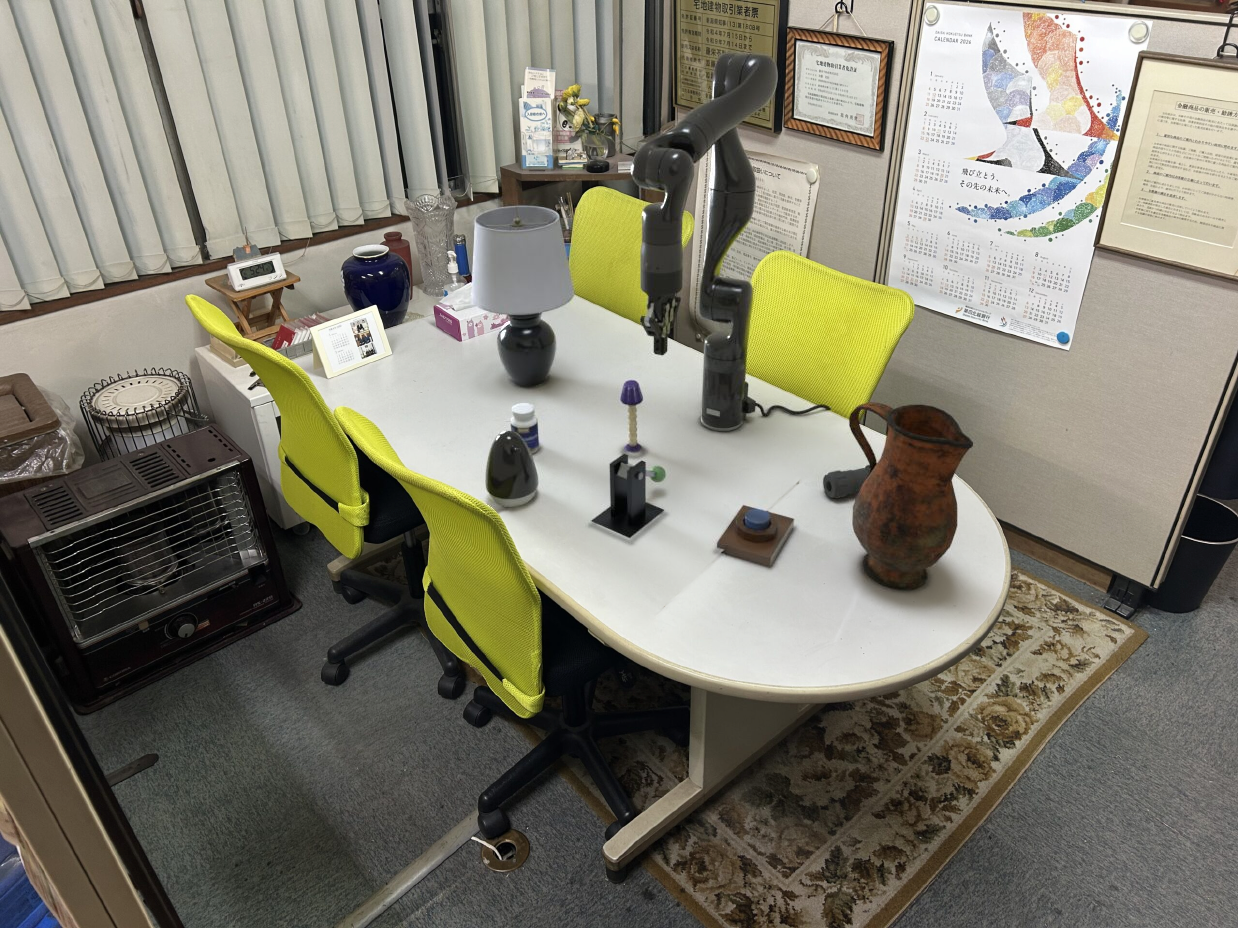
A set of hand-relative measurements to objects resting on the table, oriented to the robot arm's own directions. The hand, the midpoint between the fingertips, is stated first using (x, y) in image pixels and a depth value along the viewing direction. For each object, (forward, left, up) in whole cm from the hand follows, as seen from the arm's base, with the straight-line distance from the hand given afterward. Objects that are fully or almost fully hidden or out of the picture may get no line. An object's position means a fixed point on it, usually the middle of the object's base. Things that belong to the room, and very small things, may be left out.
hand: (660, 353), depth 167 cm
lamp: (+2, -53, -27) cm, 60 cm away
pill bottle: (+18, -24, -27) cm, 41 cm away
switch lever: (+10, +9, -20) cm, 24 cm away
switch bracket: (+14, +10, -27) cm, 32 cm away
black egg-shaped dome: (+29, -8, -27) cm, 41 cm away
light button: (-2, +28, -23) cm, 37 cm away
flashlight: (-30, +27, -27) cm, 49 cm away
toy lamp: (0, -10, -27) cm, 29 cm away
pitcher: (-16, +46, -27) cm, 56 cm away
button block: (-2, +28, -27) cm, 39 cm away
